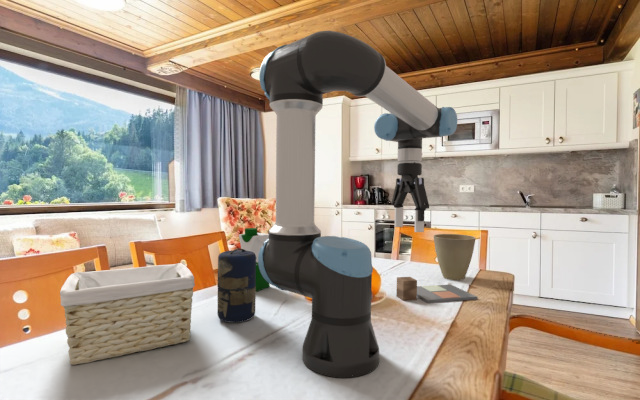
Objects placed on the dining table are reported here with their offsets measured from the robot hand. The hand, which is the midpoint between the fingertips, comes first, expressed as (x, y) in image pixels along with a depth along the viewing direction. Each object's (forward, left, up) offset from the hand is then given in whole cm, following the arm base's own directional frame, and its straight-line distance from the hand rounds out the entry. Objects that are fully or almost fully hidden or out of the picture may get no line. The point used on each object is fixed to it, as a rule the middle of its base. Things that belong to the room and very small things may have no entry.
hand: (408, 229), depth 114 cm
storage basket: (-76, -21, -21) cm, 81 cm away
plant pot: (+26, +14, -21) cm, 37 cm away
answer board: (+10, -3, -21) cm, 23 cm away
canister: (-54, -12, -21) cm, 59 cm away
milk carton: (-48, +15, -21) cm, 54 cm away
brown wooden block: (-3, -5, -21) cm, 21 cm away
